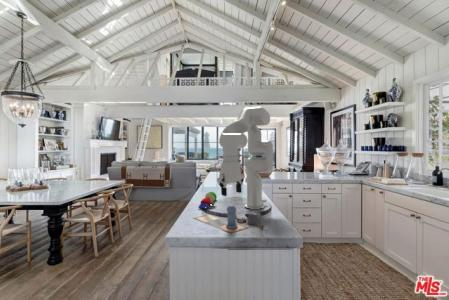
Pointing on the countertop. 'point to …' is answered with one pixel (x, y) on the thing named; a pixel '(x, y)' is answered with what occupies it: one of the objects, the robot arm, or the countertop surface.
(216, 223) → the board
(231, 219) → the pawn
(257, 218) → the die
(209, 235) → the countertop surface
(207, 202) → the toy
